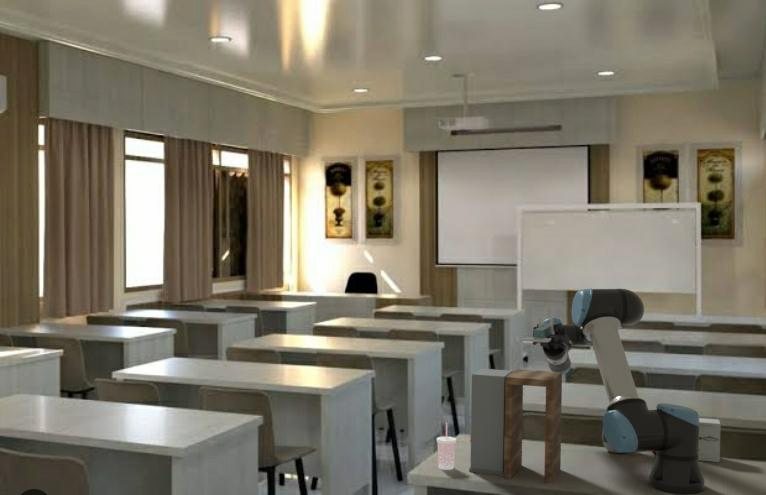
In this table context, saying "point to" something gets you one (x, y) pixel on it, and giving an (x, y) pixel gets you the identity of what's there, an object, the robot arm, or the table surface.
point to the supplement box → (709, 440)
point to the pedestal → (488, 421)
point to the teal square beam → (540, 334)
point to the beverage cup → (446, 452)
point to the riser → (515, 416)
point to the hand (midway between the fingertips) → (545, 321)
